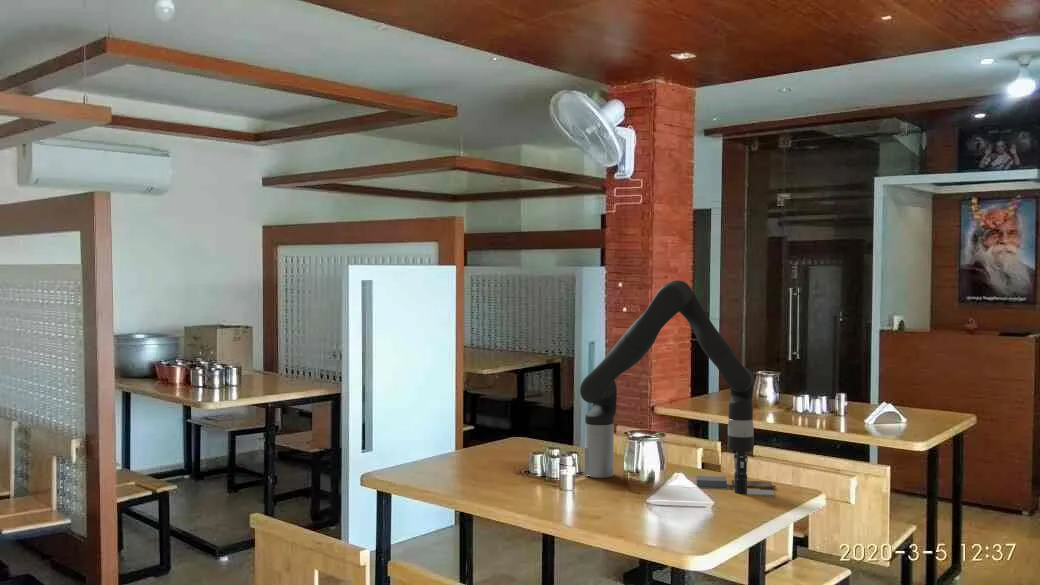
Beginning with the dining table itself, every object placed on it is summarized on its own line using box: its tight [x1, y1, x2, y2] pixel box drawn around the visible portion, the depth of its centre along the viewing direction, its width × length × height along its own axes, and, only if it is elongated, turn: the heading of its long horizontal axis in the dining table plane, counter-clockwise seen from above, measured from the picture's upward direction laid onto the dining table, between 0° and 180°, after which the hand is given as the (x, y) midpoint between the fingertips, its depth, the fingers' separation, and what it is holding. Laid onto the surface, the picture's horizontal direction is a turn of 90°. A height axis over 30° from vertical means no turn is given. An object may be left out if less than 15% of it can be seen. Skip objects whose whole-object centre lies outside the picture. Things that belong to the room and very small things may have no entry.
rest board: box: [731, 479, 774, 491], centre depth 276 cm, size 12×7×1 cm, turn 80°
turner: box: [733, 471, 775, 498], centre depth 267 cm, size 6×11×6 cm, turn 80°
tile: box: [695, 475, 728, 488], centre depth 276 cm, size 2×6×9 cm
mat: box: [692, 481, 731, 490], centre depth 276 cm, size 14×8×1 cm, turn 80°
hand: (740, 490), depth 268 cm, fingers open, 4 cm apart
